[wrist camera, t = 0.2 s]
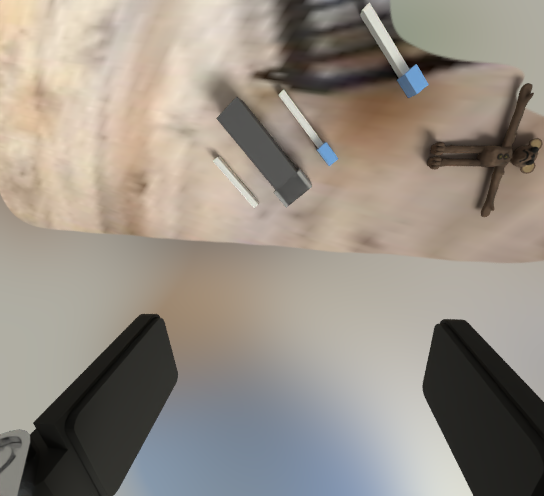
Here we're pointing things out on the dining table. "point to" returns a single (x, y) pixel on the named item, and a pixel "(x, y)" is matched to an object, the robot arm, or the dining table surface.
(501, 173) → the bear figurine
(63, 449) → the robot arm
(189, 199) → the dining table surface
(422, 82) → the white blue-tipped sticks
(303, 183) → the dark grey rectangular block
